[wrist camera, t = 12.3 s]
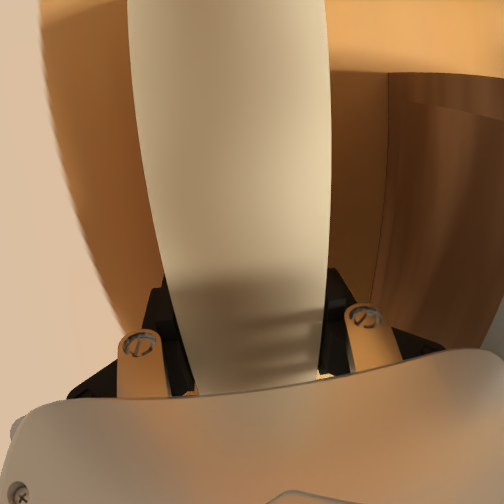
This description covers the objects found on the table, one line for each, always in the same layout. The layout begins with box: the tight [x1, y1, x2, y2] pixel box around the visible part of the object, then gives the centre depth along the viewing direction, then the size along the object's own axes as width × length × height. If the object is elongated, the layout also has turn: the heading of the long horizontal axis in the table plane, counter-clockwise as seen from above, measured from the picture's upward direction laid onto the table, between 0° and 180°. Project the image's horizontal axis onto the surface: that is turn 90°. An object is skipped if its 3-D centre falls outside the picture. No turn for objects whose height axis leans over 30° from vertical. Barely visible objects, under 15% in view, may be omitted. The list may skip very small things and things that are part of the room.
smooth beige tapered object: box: [127, 0, 331, 395], centre depth 11 cm, size 4×24×4 cm, turn 3°
